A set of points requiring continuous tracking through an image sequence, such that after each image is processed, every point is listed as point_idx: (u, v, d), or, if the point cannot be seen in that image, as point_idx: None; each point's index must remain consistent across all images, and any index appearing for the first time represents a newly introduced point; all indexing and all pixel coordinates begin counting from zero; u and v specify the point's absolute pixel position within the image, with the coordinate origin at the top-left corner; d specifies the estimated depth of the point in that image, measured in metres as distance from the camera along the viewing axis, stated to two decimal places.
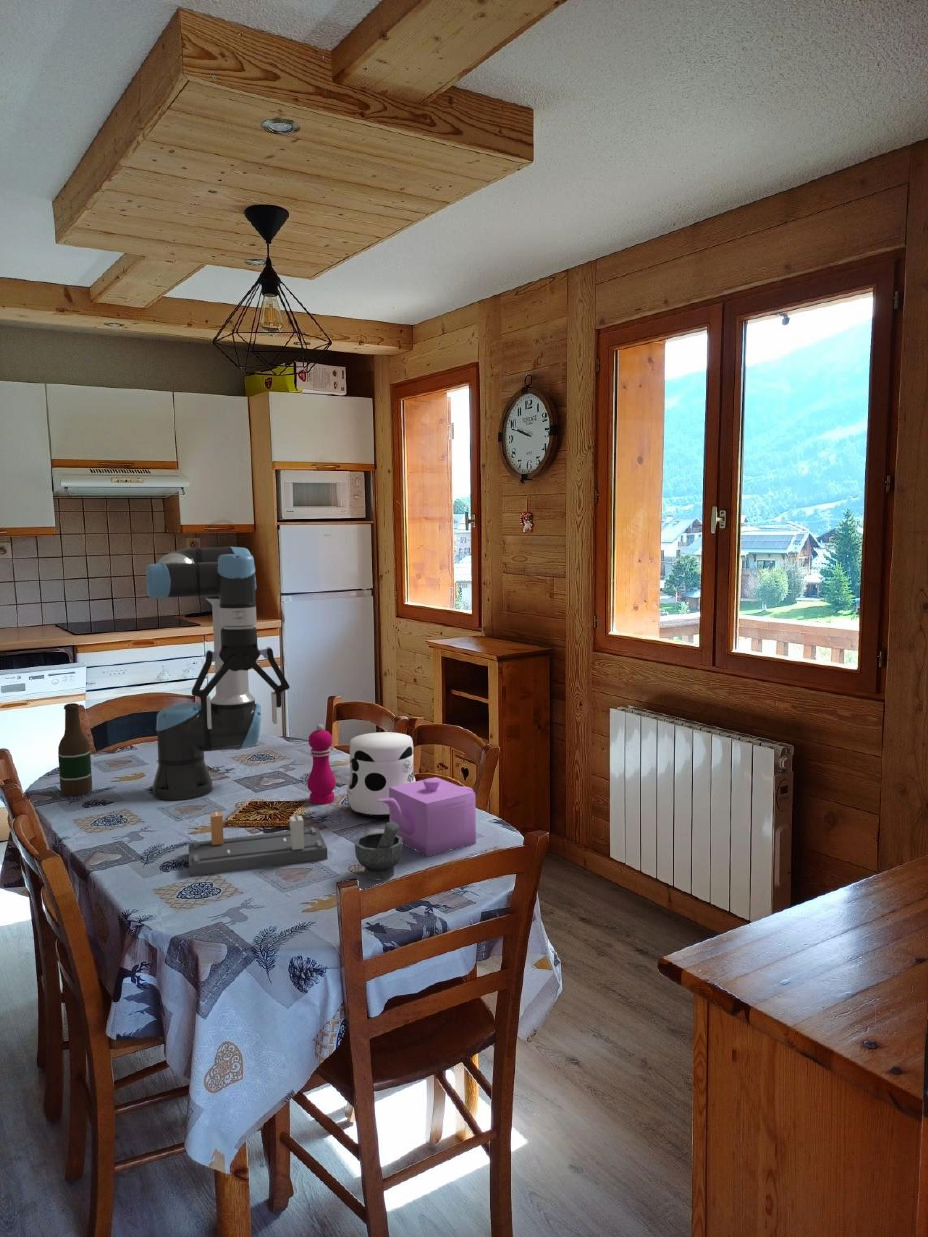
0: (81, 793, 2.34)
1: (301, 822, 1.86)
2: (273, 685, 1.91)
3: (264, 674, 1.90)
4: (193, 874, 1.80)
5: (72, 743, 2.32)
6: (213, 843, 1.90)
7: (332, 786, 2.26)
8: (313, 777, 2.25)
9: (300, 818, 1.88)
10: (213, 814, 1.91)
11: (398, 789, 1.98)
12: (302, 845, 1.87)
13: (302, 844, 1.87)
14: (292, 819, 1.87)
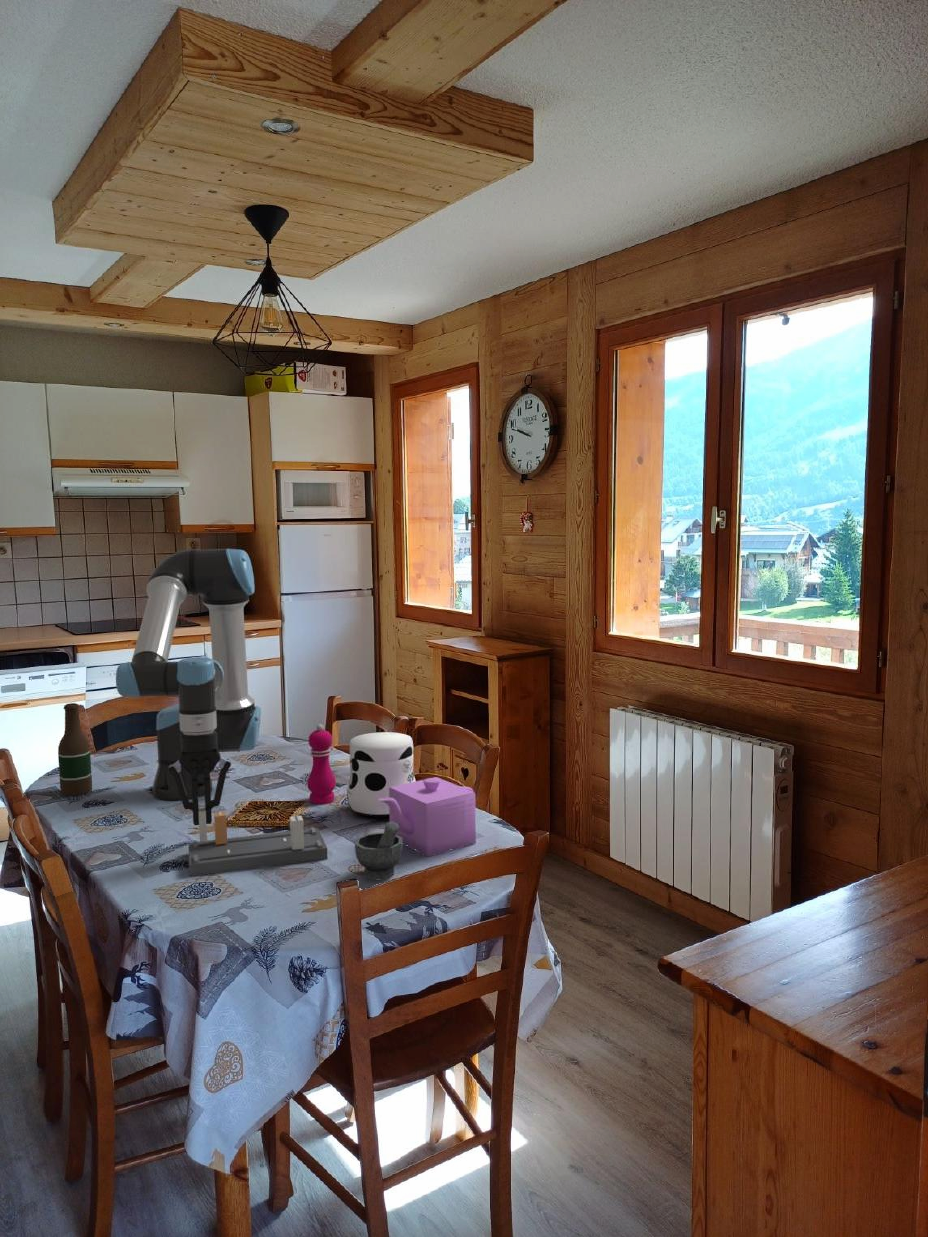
0: (81, 793, 2.34)
1: (301, 822, 1.86)
2: (207, 800, 1.89)
3: (208, 786, 1.88)
4: (193, 874, 1.80)
5: (72, 743, 2.32)
6: (217, 843, 1.90)
7: (332, 786, 2.26)
8: (313, 777, 2.25)
9: (300, 818, 1.88)
10: (217, 814, 1.91)
11: (398, 789, 1.98)
12: (302, 845, 1.87)
13: (302, 844, 1.87)
14: (292, 819, 1.87)
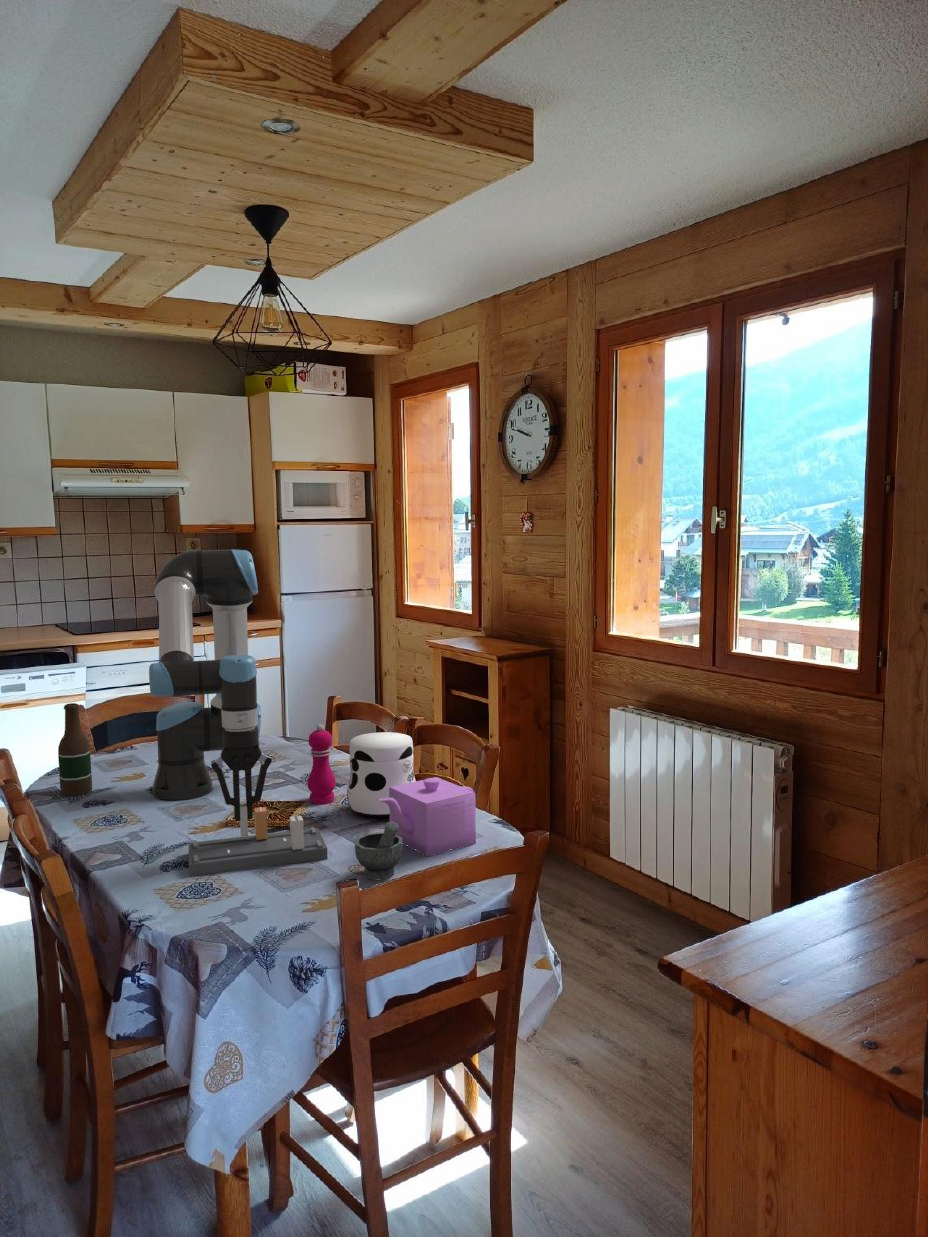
0: (81, 793, 2.34)
1: (301, 822, 1.86)
2: (249, 796, 1.91)
3: (249, 782, 1.91)
4: (193, 874, 1.80)
5: (72, 743, 2.32)
6: (258, 838, 1.93)
7: (332, 786, 2.26)
8: (313, 777, 2.25)
9: (300, 818, 1.88)
10: (257, 809, 1.93)
11: (398, 789, 1.98)
12: (302, 845, 1.87)
13: (302, 844, 1.87)
14: (292, 819, 1.87)
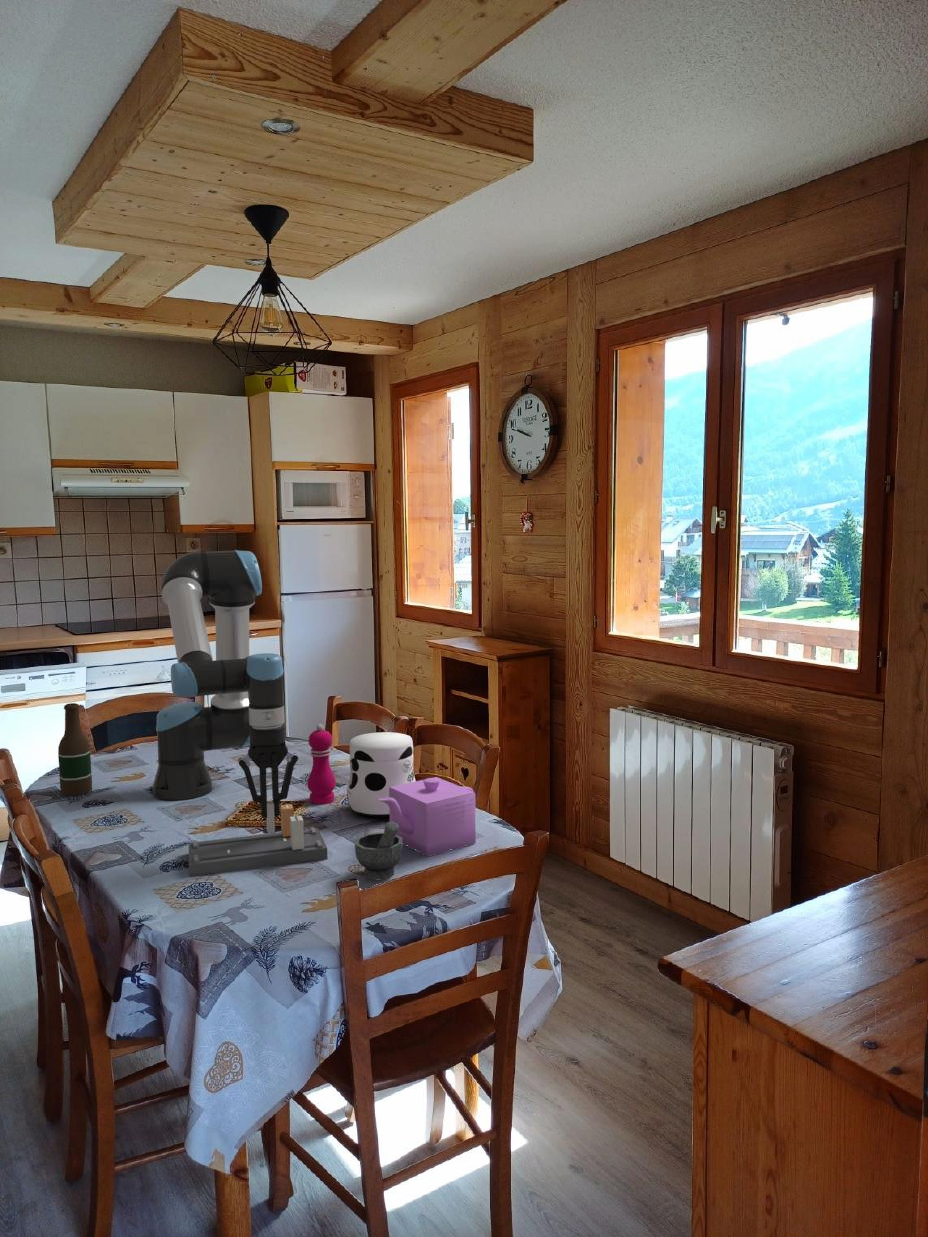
0: (81, 793, 2.34)
1: (301, 822, 1.86)
2: (276, 793, 1.93)
3: (276, 779, 1.93)
4: (193, 874, 1.80)
5: (72, 743, 2.32)
6: (284, 835, 1.94)
7: (332, 786, 2.26)
8: (313, 777, 2.25)
9: (300, 818, 1.88)
10: (284, 806, 1.95)
11: (398, 789, 1.98)
12: (302, 845, 1.87)
13: (302, 844, 1.87)
14: (292, 819, 1.87)
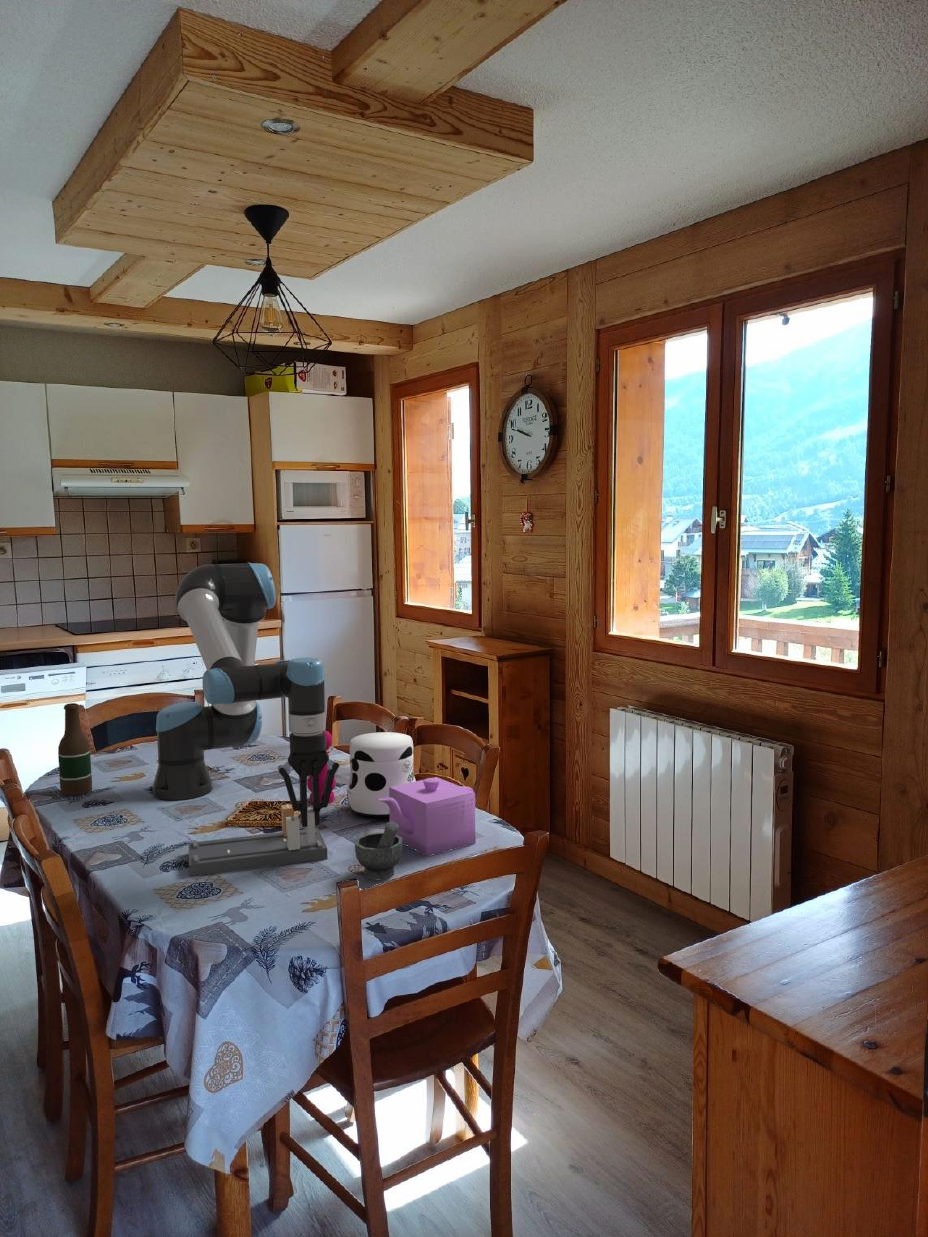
0: (81, 793, 2.34)
1: (297, 822, 1.86)
2: (316, 801, 1.87)
3: (317, 787, 1.87)
4: (193, 874, 1.80)
5: (72, 743, 2.32)
6: (285, 835, 1.94)
7: (332, 786, 2.26)
8: None
9: (296, 818, 1.87)
10: (284, 806, 1.95)
11: (398, 789, 1.98)
12: (298, 845, 1.87)
13: (298, 844, 1.87)
14: (288, 819, 1.87)
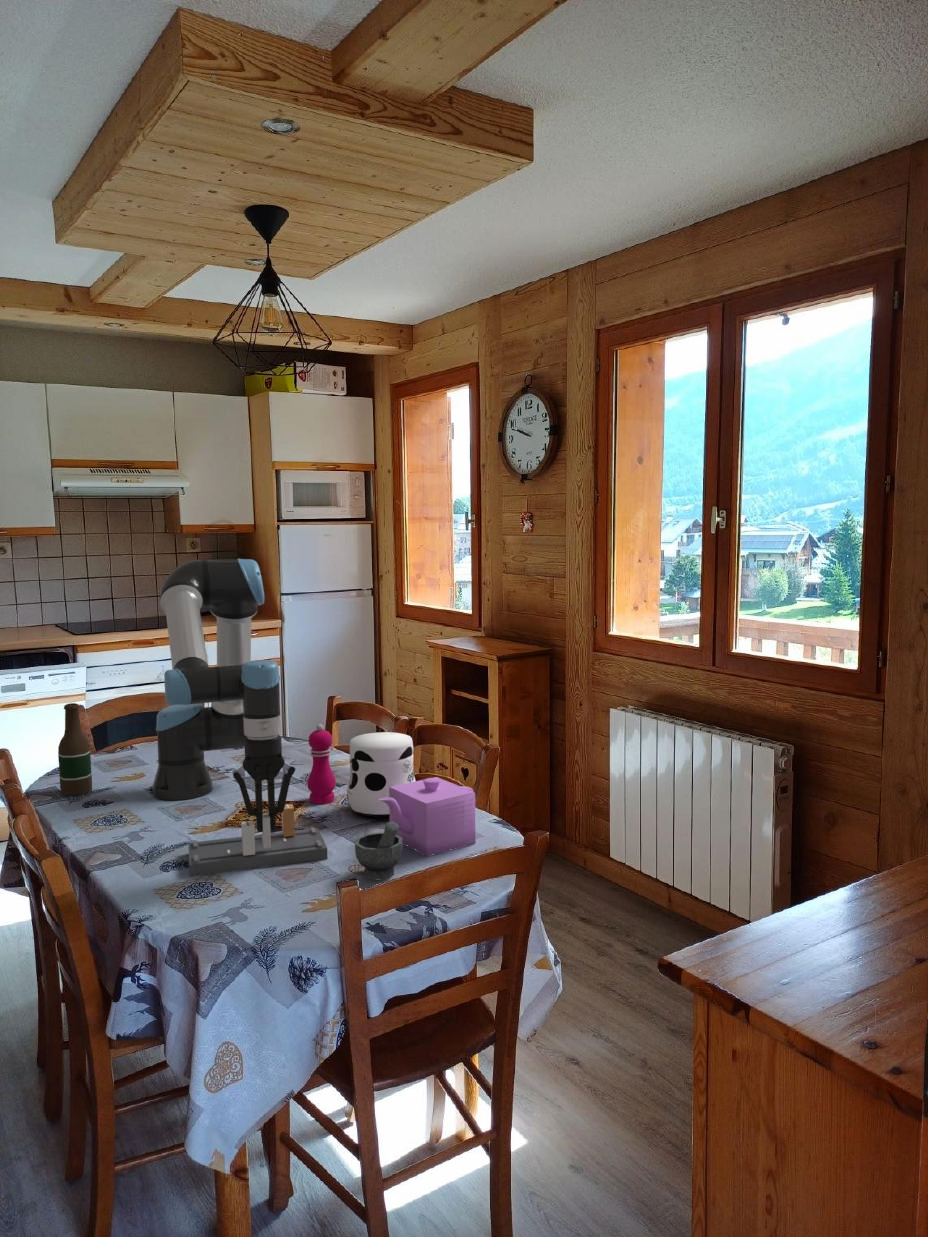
0: (81, 793, 2.34)
1: (252, 828, 1.83)
2: (272, 806, 1.85)
3: (272, 791, 1.84)
4: (193, 874, 1.80)
5: (72, 743, 2.32)
6: (285, 835, 1.94)
7: (332, 786, 2.26)
8: (313, 777, 2.25)
9: (251, 823, 1.84)
10: None
11: (398, 789, 1.98)
12: (253, 851, 1.84)
13: (253, 850, 1.84)
14: (243, 824, 1.84)
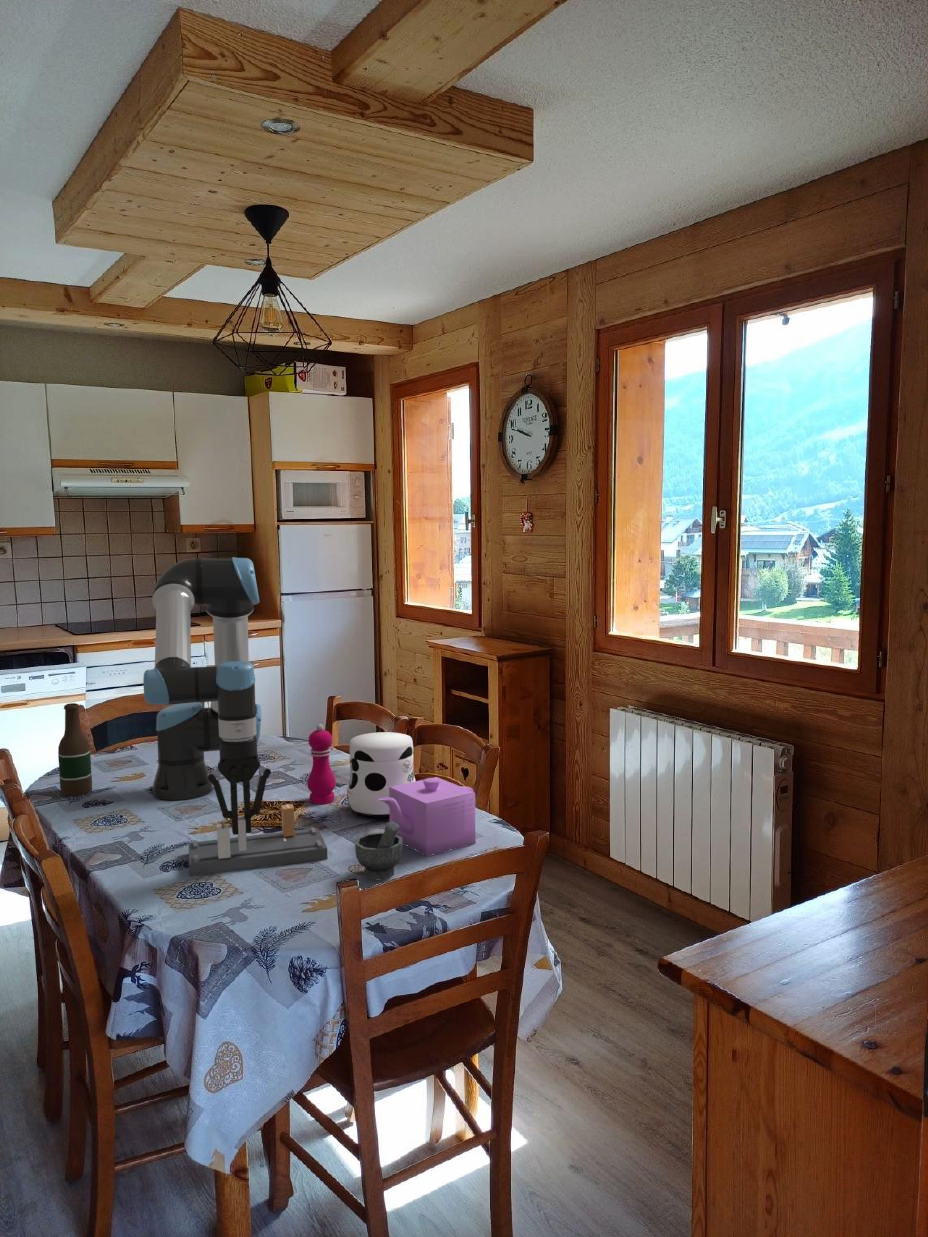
0: (81, 793, 2.34)
1: (227, 830, 1.82)
2: (247, 808, 1.83)
3: (248, 794, 1.83)
4: (193, 874, 1.80)
5: (72, 743, 2.32)
6: (285, 835, 1.94)
7: (332, 786, 2.26)
8: (313, 777, 2.25)
9: (227, 826, 1.83)
10: (284, 806, 1.95)
11: (398, 789, 1.98)
12: (228, 854, 1.82)
13: (228, 853, 1.82)
14: (218, 827, 1.82)
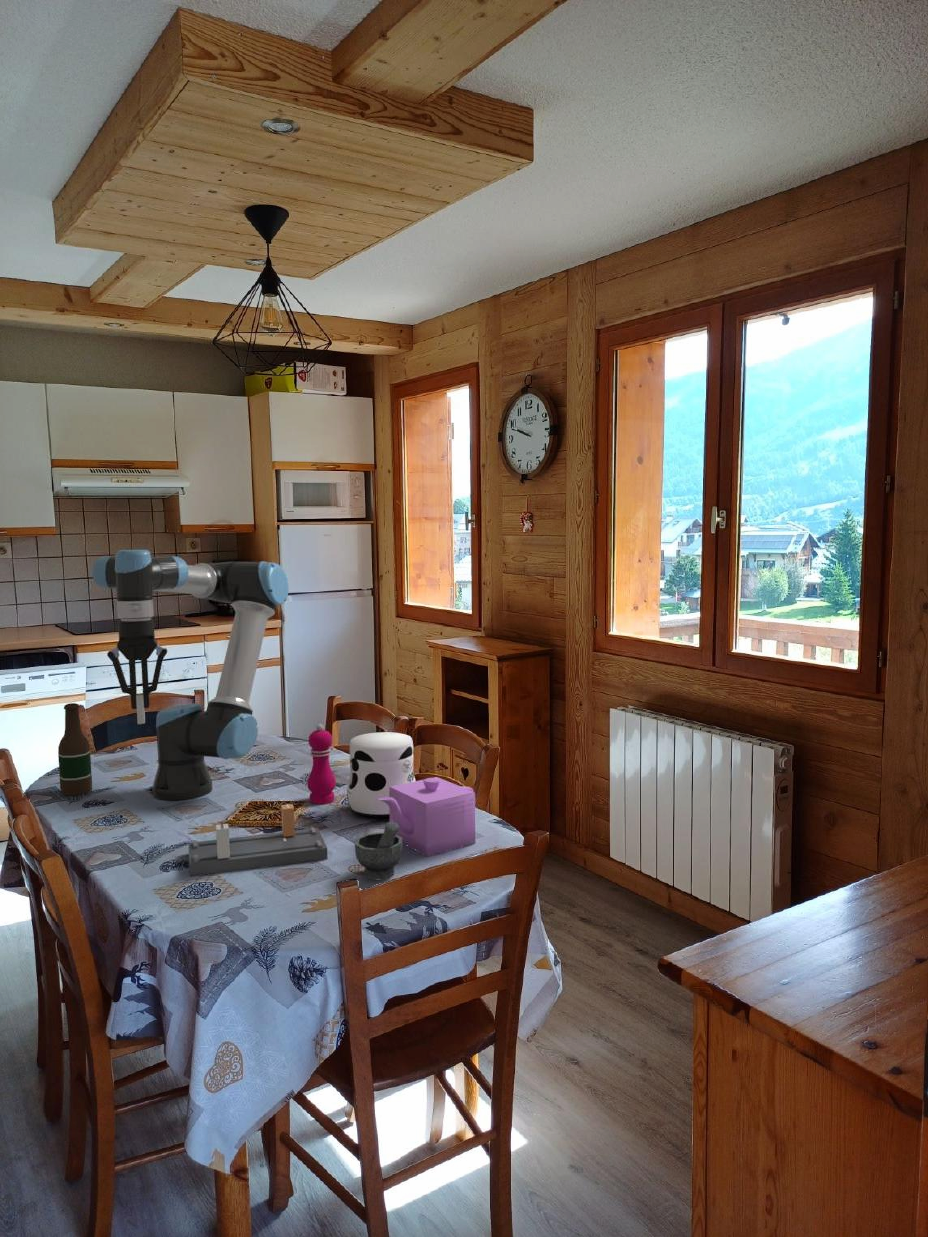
0: (81, 793, 2.34)
1: (226, 830, 1.82)
2: (145, 685, 1.99)
3: (145, 671, 1.99)
4: (193, 874, 1.80)
5: (72, 743, 2.32)
6: (285, 835, 1.94)
7: (332, 786, 2.26)
8: (313, 777, 2.25)
9: (226, 826, 1.83)
10: (284, 806, 1.95)
11: (398, 789, 1.98)
12: (228, 854, 1.82)
13: (228, 853, 1.82)
14: (217, 827, 1.82)
